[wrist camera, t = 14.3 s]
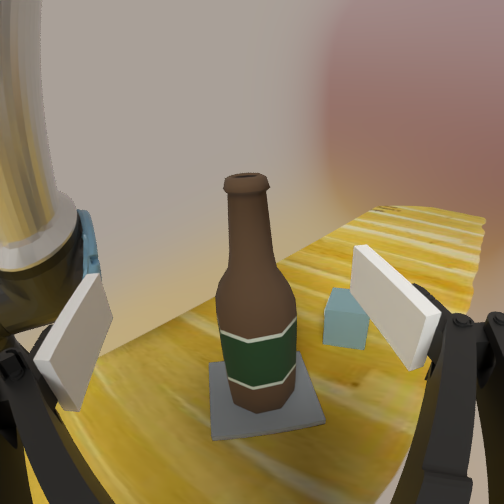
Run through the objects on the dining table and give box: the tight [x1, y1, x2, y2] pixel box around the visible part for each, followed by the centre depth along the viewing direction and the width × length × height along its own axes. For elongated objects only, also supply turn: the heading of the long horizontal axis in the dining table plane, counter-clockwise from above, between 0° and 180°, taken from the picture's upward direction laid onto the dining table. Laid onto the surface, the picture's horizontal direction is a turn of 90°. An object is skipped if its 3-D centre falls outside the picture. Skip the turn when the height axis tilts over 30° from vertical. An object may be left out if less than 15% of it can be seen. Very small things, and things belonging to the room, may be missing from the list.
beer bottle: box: [215, 173, 297, 414], centre depth 29 cm, size 8×8×24 cm
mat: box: [209, 351, 326, 441], centre depth 34 cm, size 12×12×1 cm
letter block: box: [323, 288, 370, 350], centre depth 42 cm, size 6×6×6 cm
